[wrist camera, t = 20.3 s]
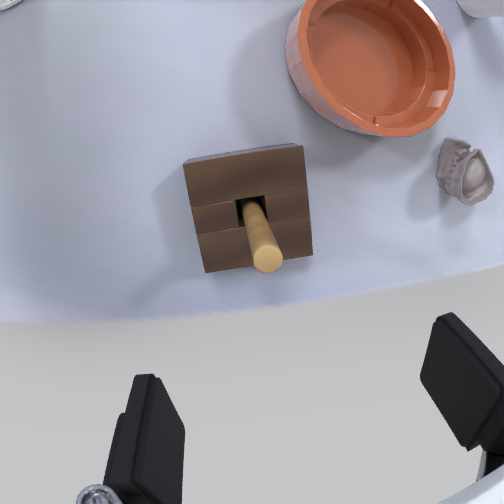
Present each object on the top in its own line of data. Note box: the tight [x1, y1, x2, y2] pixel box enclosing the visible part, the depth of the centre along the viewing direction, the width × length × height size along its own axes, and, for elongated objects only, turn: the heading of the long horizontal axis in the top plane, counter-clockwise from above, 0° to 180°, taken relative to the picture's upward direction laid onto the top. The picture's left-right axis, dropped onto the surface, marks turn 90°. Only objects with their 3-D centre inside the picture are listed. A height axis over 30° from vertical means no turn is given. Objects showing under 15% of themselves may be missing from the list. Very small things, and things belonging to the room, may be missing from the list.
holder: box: [183, 143, 313, 273], centre depth 30 cm, size 11×11×4 cm
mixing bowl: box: [285, 0, 455, 137], centre depth 24 cm, size 17×17×6 cm
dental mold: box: [436, 138, 494, 206], centre depth 30 cm, size 8×7×5 cm
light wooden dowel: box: [241, 197, 283, 273], centre depth 25 cm, size 2×2×14 cm
